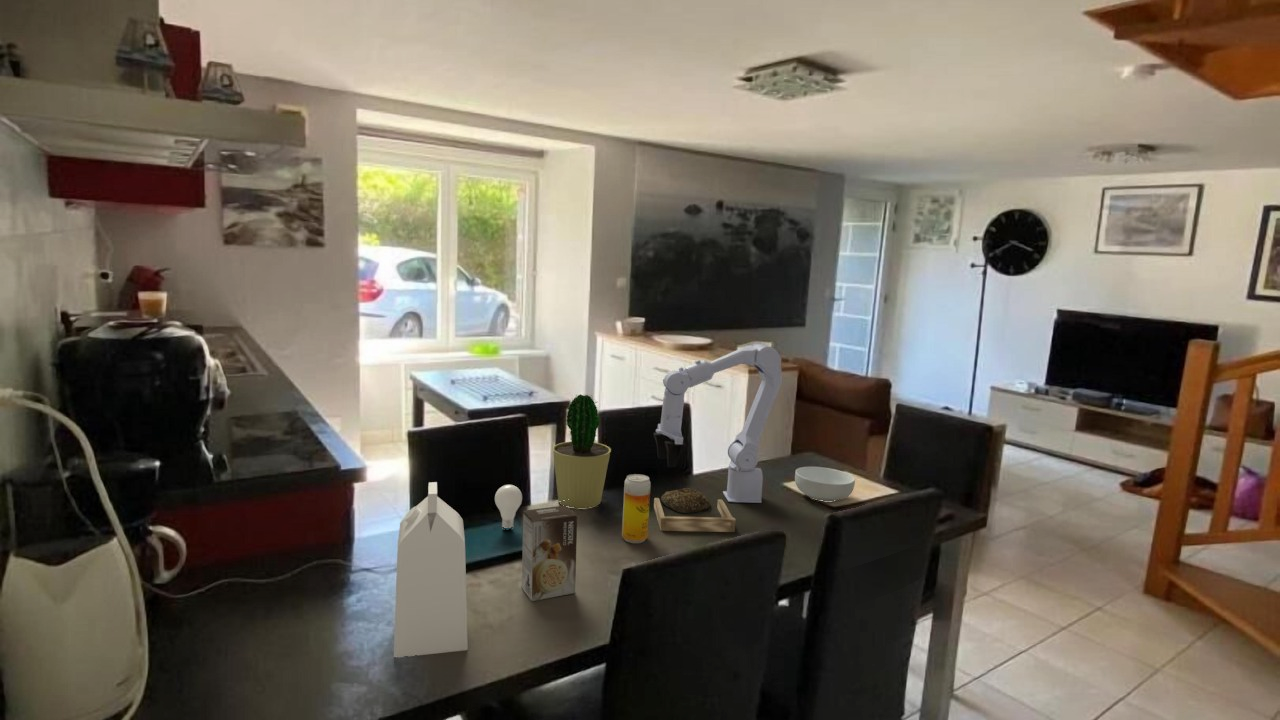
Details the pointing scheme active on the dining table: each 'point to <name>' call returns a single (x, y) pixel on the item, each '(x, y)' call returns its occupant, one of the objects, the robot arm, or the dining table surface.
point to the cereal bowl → (824, 483)
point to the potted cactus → (581, 457)
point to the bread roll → (685, 500)
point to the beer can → (636, 508)
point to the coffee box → (549, 552)
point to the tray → (696, 520)
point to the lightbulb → (508, 503)
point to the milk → (430, 580)
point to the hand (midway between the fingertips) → (666, 462)
